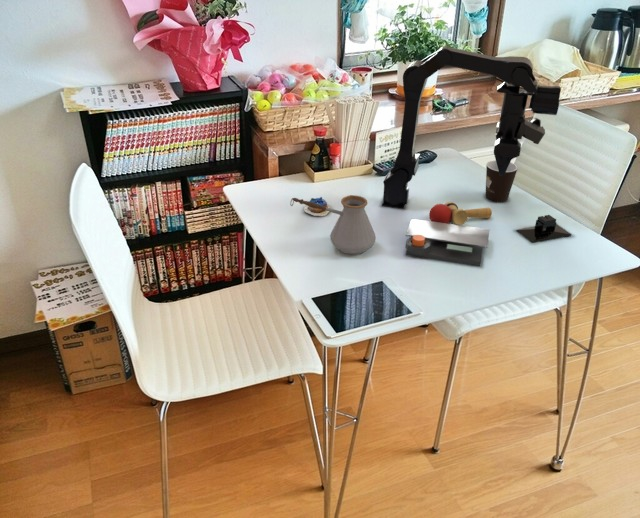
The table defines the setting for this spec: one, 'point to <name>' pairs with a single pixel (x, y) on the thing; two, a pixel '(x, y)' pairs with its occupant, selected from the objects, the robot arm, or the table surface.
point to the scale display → (459, 248)
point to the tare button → (418, 240)
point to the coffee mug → (499, 182)
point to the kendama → (456, 213)
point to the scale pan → (449, 232)
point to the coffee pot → (349, 225)
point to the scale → (444, 252)
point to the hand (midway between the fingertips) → (502, 168)
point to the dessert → (314, 210)
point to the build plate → (544, 230)
